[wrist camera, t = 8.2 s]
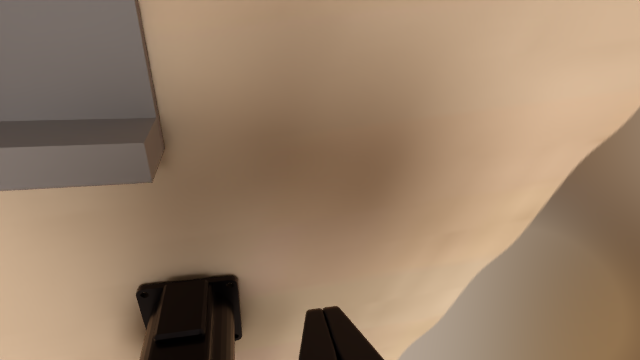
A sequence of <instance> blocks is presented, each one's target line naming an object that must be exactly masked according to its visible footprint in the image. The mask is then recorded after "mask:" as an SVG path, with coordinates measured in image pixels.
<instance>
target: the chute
mask: <svg viewBox="0 0 640 360" xmlns="http://www.w3.org/2000/svg"><path fill="white" fill-rule="evenodd" d="M164 149H165V148H164V142H163V137H162V131H161V126H160V120H159V115H158V109H157V104H156V98H155V93H154V87H153V82H152V76H151V71H150V65H149V60H148V54H147V49H146V43H145V38H144V32H143V27H142V21H141V16H140V10H139V5H138V0H0V191H8V190H27V189H45V188H63V187H81V186H99V185H117V184H135V183H152V182H153V179H154V177H155V174H156V171H157V168H158V166H159V163H160V160H161V157H162V155H163V152H164Z"/></svg>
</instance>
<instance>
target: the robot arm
mask: <svg viewBox="0 0 640 360" xmlns="http://www.w3.org/2000/svg"><path fill="white" fill-rule="evenodd" d="M228 283H231V284H228ZM143 292H146V293H143ZM136 297H137V300H138V304H139V307H140V311H141V314H142V318H143V321H144V324H145V328H146V335H145V339H144V343H143V347H142V352H141V356H140V360H235V352H234V341H236V340H239V339H241V337H242V326H241V314H240V303H239V291H238V280H237V278H236V277H234V276H224V277H214V278H205V279H196V280H187V281H177V282H168V283H159V284H150V285H143V286H140V287H139V288H138V289H137V293H136ZM299 360H384V359H383V358H382V357H381V355H380V354H379V353H378V352H377V351H376V350H375V348H374V347H373V346H372V345H371V344H370V343H369V342H368V340H367V339H366V338H365V337H364V336H363V335H362V333H361V332H360V331H359V330H358V329H357V328H356V326H355V325H354V324H353V323H352V322H351V321H350V319H349V318H348V317H347V316H346V315H345V314H344V312H343V311H342V310H341V309H340V308H339V307H337V306H333V307H325V308H323V310H322V309H320V308H318V309H311V310H307V312H306V317H305V323H304V329H303V335H302V342H301V348H300V354H299Z"/></svg>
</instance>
